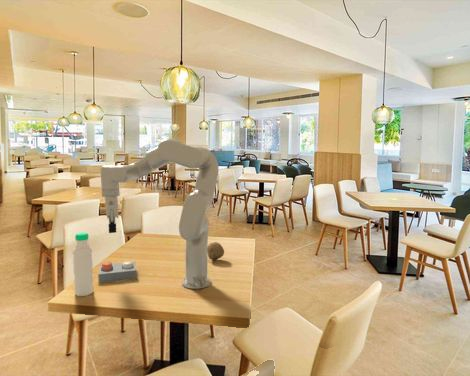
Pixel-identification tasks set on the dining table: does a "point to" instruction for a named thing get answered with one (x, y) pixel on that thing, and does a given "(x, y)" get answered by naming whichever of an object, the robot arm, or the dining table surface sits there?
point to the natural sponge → (215, 251)
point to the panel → (117, 273)
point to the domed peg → (127, 265)
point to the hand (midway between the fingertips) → (112, 232)
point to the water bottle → (83, 266)
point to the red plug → (106, 266)
